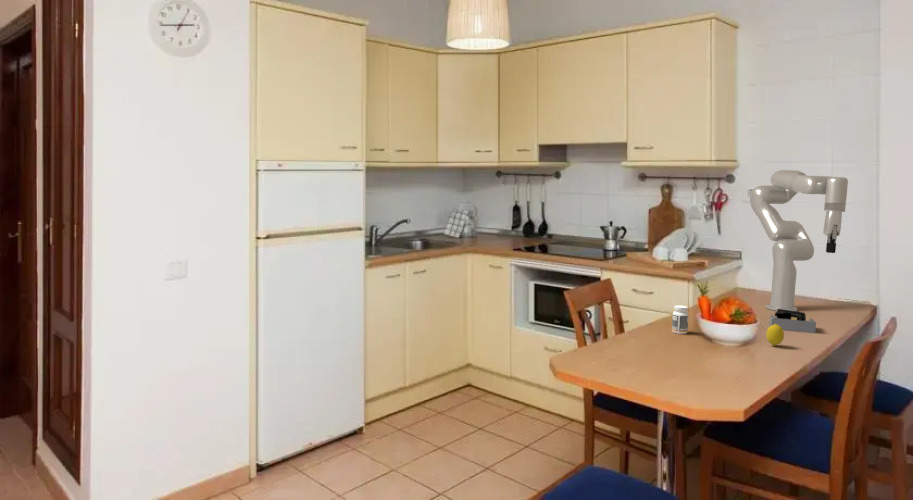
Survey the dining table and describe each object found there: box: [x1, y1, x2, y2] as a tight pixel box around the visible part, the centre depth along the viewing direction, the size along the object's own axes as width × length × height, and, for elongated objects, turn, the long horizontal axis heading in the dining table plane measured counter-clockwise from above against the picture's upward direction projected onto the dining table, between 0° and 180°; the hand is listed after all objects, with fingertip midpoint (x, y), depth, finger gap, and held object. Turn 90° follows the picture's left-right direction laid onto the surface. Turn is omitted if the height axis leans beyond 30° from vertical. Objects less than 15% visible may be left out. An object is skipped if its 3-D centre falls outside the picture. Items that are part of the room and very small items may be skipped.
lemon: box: [765, 324, 785, 347], centre depth 239 cm, size 6×6×8 cm
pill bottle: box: [671, 304, 689, 335], centre depth 256 cm, size 6×6×10 cm
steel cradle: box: [769, 314, 817, 334], centre depth 269 cm, size 10×15×5 cm, turn 70°
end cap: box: [774, 309, 807, 321], centre depth 270 cm, size 10×7×7 cm
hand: (830, 252), depth 279 cm, fingers closed
